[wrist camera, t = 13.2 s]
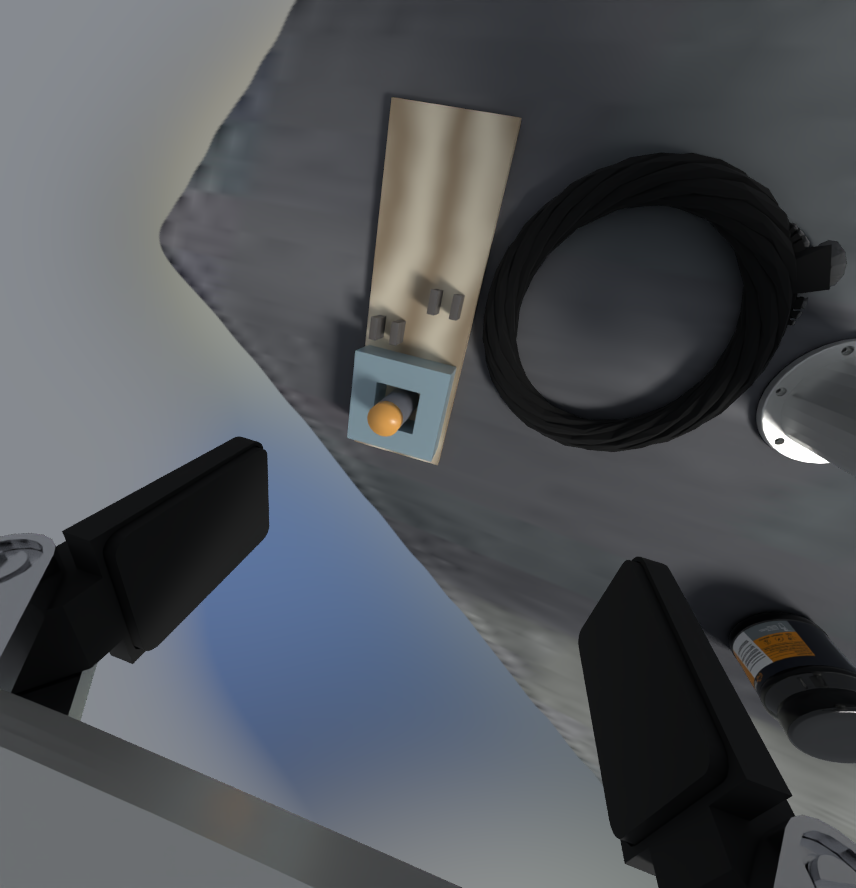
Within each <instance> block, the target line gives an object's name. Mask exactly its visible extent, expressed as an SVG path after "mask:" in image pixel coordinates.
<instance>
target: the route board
mask: <svg viewBox="0 0 856 888" xmlns="http://www.w3.org/2000/svg"><path fill="white" fill-rule="evenodd" d="M520 126H521V118H519V117H513V116H507V115H501V114H494V113H488V112H482V111H476V110H469V109H463V108H457V107H451V106H444V105H438V104H432V103H426V102H419V101H413V100H407V99H401V98H395V97H392V99H391V108H390V117H389V127H388V136H387V145H386V155H385V164H384V174H383V183H382V192H381V202H380V211H379V220H378V230H377V239H376V248H375V258H374V267H373V276H372V286H371V295H370V304H369V314H368V323H367V332H366V342H365V346H368V345H372V346H375V347H379V348H383V349H387V350H391V351H395V352H399V353H403V354H407V355H411V356H415V357H419V358H423V359H427V360H431V361H435V362H439V363H443V364H447V365H451V366H455V367H457V368H456V372H455V377H454V381H453V385H452V389H451V394H450V398H449V402H448V406H447V411H446V415H445V419H444V423H443V428H442V432H441V436H440V440H439V445H438V448H437V451H436V453H435V455H434V457H433V459H432V461H431V462H430V461H426V460H423V459H419V458H416V457H412V456H409V455H405V454H402V453H398V452H395V451H392V450H388V449H385V448H381V447H378V446H374V445H371V444H367V443H364V442H360V441H357V440H355V441H356V442H360V443H363V444H366V445H370V446H373V447H377V448H380V449H384V450H387V451H391V452H394V453H397V454H401V455H404V456H408V457H411V458H415V459H418V460H422V461H425V462H429V463H432V464H435V465H438V463H439V460H440V456H441V452H442V447H443V443H444V439H445V435H446V431H447V427H448V423H449V419H450V414H451V410H452V406H453V402H454V398H455V394H456V390H457V386H458V381H459V377H460V373H461V369H462V365H463V361H464V357H465V353H466V348H467V344H468V340H469V336H470V332H471V328H472V324H473V320H474V315H475V311H476V307H477V303H478V299H479V295H480V291H481V287H482V282H483V278H484V274H485V270H486V266H487V262H488V258H489V254H490V249H491V245H492V241H493V237H494V233H495V229H496V225H497V221H498V216H499V212H500V208H501V204H502V200H503V196H504V192H505V188H506V184H507V179H508V175H509V171H510V167H511V163H512V159H513V155H514V151H515V146H516V142H517V138H518V134H519V130H520ZM395 388H397V387H394V386H390V385H387V387H386V394H385V397H386V396H387V395H388V394H389V393H391V392H392V391H393V390H394V389H395ZM418 395H419V398H420V393H418ZM417 409H418V407H417V408H416V409H415V410H414V412H413V413H412V414H411V415H410V416H409V417H408V419H410V420H413V421H415V419H416V414H417Z"/></svg>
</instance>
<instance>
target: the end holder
mask: <svg viewBox="0 0 856 888" xmlns="http://www.w3.org/2000/svg"><path fill="white" fill-rule="evenodd" d="M456 368H457V367H455V366H451V365H447V364H443V363H439V362H435V361H431V360H427V359H423V358H419V357H415V356H411V355H407V354H403V353H399V352H395V351H391V350H387V349H383V348H379V347H375V346H372V345H368V346H365V347H363V348H360V349H358V350H355V361H354V372H353V382H352V393H351V403H350V414H349V424H348V435H347V438H350V439H353V440H357V441H360V442H364V443H367V444H371V445H374V446H378V447H381V448H385V449H388V450H392V451H395V452H398V453H402V454H405V455H409V456H412V457H416V458H419V459H423V460H426V461H430V462H431V461H432V459H433V457H434V455H435V453H436V451H437V448H438V445H439V440H440V436H441V432H442V428H443V423H444V419H445V415H446V411H447V406H448V402H449V398H450V394H451V389H452V385H453V381H454V377H455V372H456ZM387 385H390V386H394V387H398V388H402V389H405V390H409V391H413V392H417V393H420V398H419V403H418V409H417V414H416V419H415V421H413V420H410V419H407V420H406V421H405V422H404V423H403V425H402V426H401V427H400V428H399V429H398V430H397V432H396V433H395V434H393V435H391V436H380V435H378V434H376V433H375V432H373V430H372V429H371V428H370V426H369V424H368V420H367V416H368V412H369V411H370V409H371V408H372V407H373V406H375V405H376V404H377V403H378V402H380V401H381V400H382V399H383V398H384V397H385V394H386V387H387Z"/></svg>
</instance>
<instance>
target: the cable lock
mask: <svg viewBox="0 0 856 888" xmlns="http://www.w3.org/2000/svg"><path fill="white" fill-rule="evenodd" d="M653 205H664V206H670V207H674V208H678V209H682V210H684V211H687V212H689V213H692V214H694V215H697V216H699V217H702V218H704V219H706V220H708V221H709V222H711V223H712V224H713V226H714V227H715V228H716V229H717V230H718V231H719V232H720V233H721V235H722V236H723V237H724V238H725V239H726V240H727V241H728V243H729V244H730V245H731V246H732V247H733V249H734V251H735V253H736V257H737V260H738V264H739V268H740V272H741V276H742V280H743V283H744V289H743V298H742V306H741V313H740V316H739V320H738V324H737V328H736V332H735V334H734V335H733V337H732V339H731V341H730V343H729V345H728V347H727V349H726V350H725V352H724V353H723V355H722V356H721V358H720V359H719V361H718V362H717V364H716V365H715V366H714V368H713V369H712V370H711V371H710V372H709V373H708V375H707V376H706V377H705V378H704V379H703V380H702V381H701V382H700V383H698V384H697V385H696V386H694V387H693V388H692V389H690V390H689V391H688V392H686V393H685V394H684V395H683V396H681V397H680V398H679V399H677V400H676V401H674V402H672V403H670V404H668V405H667V406H665V407H663V408H660V409H657V410H654V411H652V412H649V413H646V414H643V415H640V416H638V417H635V418H630V419H625V420H588V419H583V418H580V417H578V416H575V415H573V414H570V413H568V412H565V411H563V410H560V409H558V408H555V407H553V406H552V405H551V404H549V403H548V402H547V401H546V400H545V399H544V398H543V396H542V395H541V394H540V393H539V392H538V391H537V390H536V389H535V388H534V387H533V386H532V384H531V383H530V381H529V379H528V378H527V376H526V374H525V372H524V369H523V367H522V365H521V361H520V358H519V354H518V348H517V343H516V337H517V328H518V319H519V310H520V307H521V304H522V300H523V297H524V295H525V293H526V291H527V289H528V287H529V284H530V282H531V280H532V278H533V276H534V275H535V273H536V272H537V270H538V269H539V267H540V266H541V264H542V263H543V262H544V260H545V259H546V257H547V256H548V255H549V253H551V252H552V251H553V250H554V249H555V248H556V247H557V246H558V245H560V244H561V243H562V242H563V241H564V240H565V239H566V238H567V237H569V236H570V235H571V234H572V233H573V232H574V231H575V230H576V229H578V228H580V227H582V226H584V225H586V224H588V223H590V222H592V221H594V220H597V219H599V218H601V217H603V216H605V215H607V214H609V213H611V212H613V211H616V210H619V209H623V208H629V207H641V206H653ZM809 243H810V241H809V240H808V239H807V237H806V236H805V237H804V233H803V231H802V230H800V229H799V228H798V227H797V224H794V223H790V222H789V220H788V217H787V215H786V213H785V212H784V211H783V210H782V209H781V208H780V207H779V206H778V203H777V202H776V200H775V198H774V197H773V195H772V194H771V192H770V191H769V189H768V188H766V187H764V186H763V185H761V184H760V183H758V182H756V181H755V180H753V179H752V178H750V177H748V176H747V174H746V173H745V172H743V171H741V170H740V169H738V168H736V167H734V166H732V165H730V164H728V163H727V162H725V161H723V160H721V159H716V158H712V157H708V156H703V155H699V154H695V153H688V154H673V153H656V154H649V155H643V156H637V157H631V158H628V159H626V160H624V161H621V162H619V163H617V164H614V165H611V166H608V167H605V168H601V169H598V170H596V171H594V172H592V173H590V174H589V175H587V176H585V177H583V178H581V179H579V180H577V181H575V182H573V183H572V184H570V185H569V186H568V187H567V188H566V189H565V190H564V191H563V192H562V193H560V194H559V195H558V196H557V197H555V198H554V199H552V200H551V201H550V202H548V203H547V204H546V205H545V206H544V207H543V208H541V209H540V210H539V211H538V212H537V213H536V214H535V215H534V216H533V217H532V218H531V219H530V220H529V221H528V222H527V223H526V224H525V225H524V227H523V228H522V230H521V231H520V233H519V234H518V236H517V238H516V239H515V241H514V242H513V243H512V244H511V245H510V247H509V248H508V250H507V252H506V254H505V255H504V257H503V259H502V261H501V263H500V264H499V266H498V268H497V270H496V272H495V276H494V279H493V282H492V285H491V288H490V291H489V295H488V300H487V304H486V309H485V314H484V325H483V342H484V346H485V355H486V362H487V366H488V369H489V372H490V376H491V379H492V381H493V383H494V385H495V387H496V388H497V390H498V392H499V394H500V395H501V397H502V398H503V400H504V401H505V402H506V404H507V405H508V406H509V408H510V409H511V411H512V412H513V413H514V414H515V415H516V416H517V417H518V418H519V419H520V420H521V421H522V422H524V423H525V424H526V425H527V426H528V427H530V428H532V429H534V430H536V431H538V432H540V433H541V434H542V435H544V436H546V437H548V438H550V439H553V440H555V441H557V442H559V443H561V444H563V445H565V446H572V447H578V448H584V449H587V450H596V451H609V452H617V451H624V450H631V449H638V448H643V447H646V446H649V445H652V444H657V443H663V442H668V441H670V440H672V439H674V438H677V437H679V436H681V435H683V434H685V433H688V432H690V431H692V430H694V429H696V428H697V427H699V426H700V425H702V424H704V423H705V422H707V421H709V420H711V419H712V418H714V417H716V416H718V415H719V414H721V413H722V412H723V411H724V410H726V409H727V408H728V407H729V406H730V405H731V404H732V403H733V402H734V401H735V400H736V399H737V398H738V397H740V396H741V395H742V394H743V393H744V392H745V391H746V390H747V389H748V388H749V387H750V386H751V385H752V384H753V383H754V381H755V380H756V379H757V378H758V377H759V375H760V374H761V373H762V372H763V371H764V370H765V368H766V366H767V365H768V363H769V361H770V360H771V358H772V357H773V355H774V353H775V352H776V350H777V348H778V347H779V344H780V342H781V339H782V337H783V335H784V333H785V331H786V328H787V326H788V325H795V323H796V321H793V320H790V318H795V319H796V318H797V319H798V318H799V317H800V315H801V314H802V313H803V312H800V311H793V308H794V309H801V308H802V309H805V307H806V304H807V300H808V297H807V298H805V299H804V297H797V294H798V293H806V292H813V291H821V290H828V289H830V286H834V285H836V283H837V282H838V281H839V280H840V279H841V277H842V276H843V275H844V272H845V268H846V264H847V261H846V252H845V251H844V249H843V248H842V247H841V245H840V244H839V243H838V242H837V241H831V240H828V241H825V242H823V243H821V244H819V246H816V247H809ZM805 247H809V248H805Z"/></svg>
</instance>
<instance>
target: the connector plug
mask: <svg viewBox="0 0 856 888" xmlns="http://www.w3.org/2000/svg"><path fill="white" fill-rule="evenodd" d="M418 403H419V395H418V393H417V392H413V391H409V390H405V389H402V388H398V387H397V388H395V389H394V390H393V391H392V392H391V393H389V394H388V395H387V396H386V397H384V398H383V399H382V400H381V401H380V402H378V403H377V404H376V405H375V406H373V407H372V408H371V409H370V411H369V412H368V416H367V420H368V424H369V426H370V428H371V429H372V430H373V432H375V433H376V434H378V435H380V436H391V435H393V434H395V433H396V432H397V430H398V429H399V428H400V427H401V426H402V425H403V423H404V422H405V421H406V420H407V419H408V417H409V416H410V415H411V414H412V413H413V412H414V410H415V409H416V408H417V407H418Z"/></svg>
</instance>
